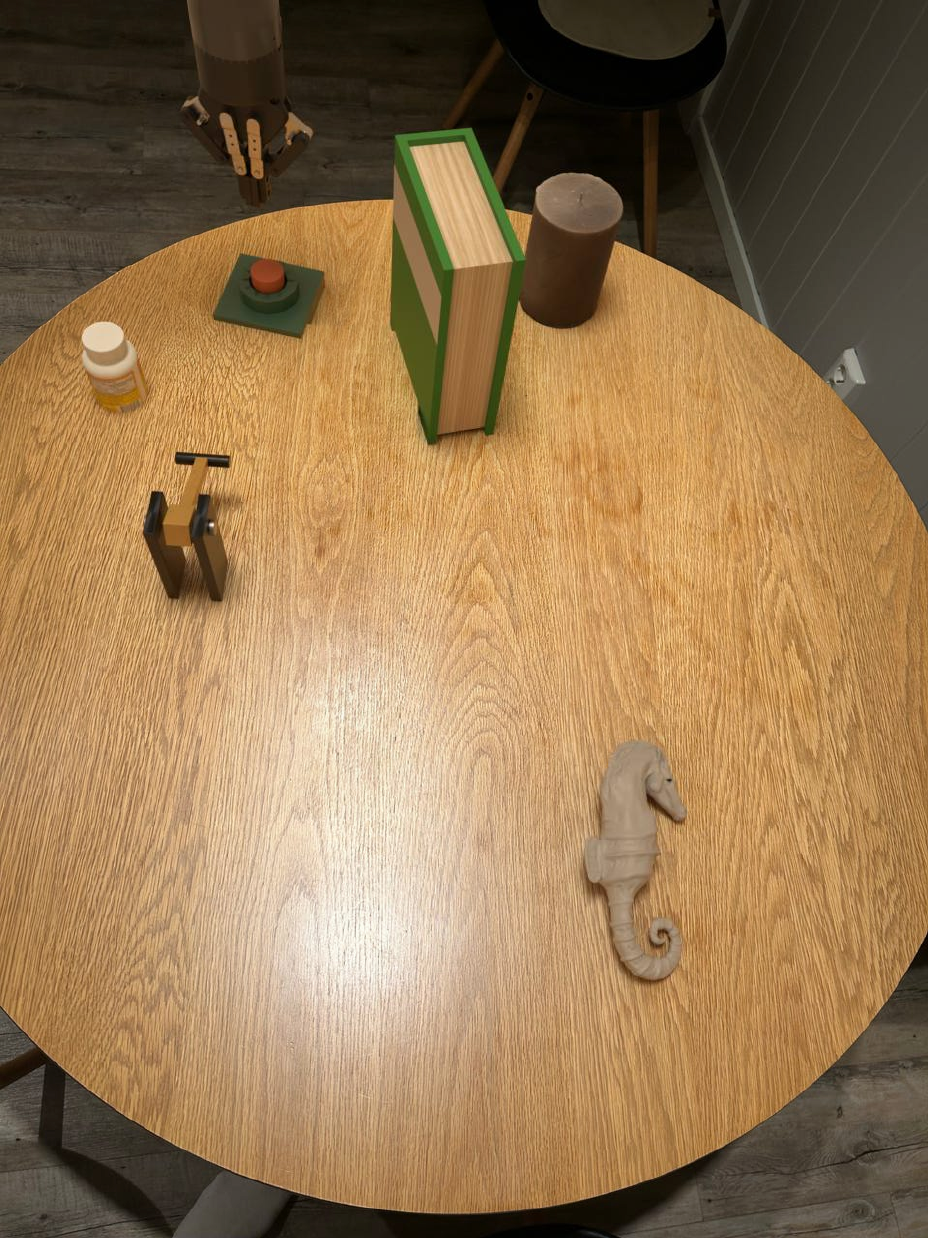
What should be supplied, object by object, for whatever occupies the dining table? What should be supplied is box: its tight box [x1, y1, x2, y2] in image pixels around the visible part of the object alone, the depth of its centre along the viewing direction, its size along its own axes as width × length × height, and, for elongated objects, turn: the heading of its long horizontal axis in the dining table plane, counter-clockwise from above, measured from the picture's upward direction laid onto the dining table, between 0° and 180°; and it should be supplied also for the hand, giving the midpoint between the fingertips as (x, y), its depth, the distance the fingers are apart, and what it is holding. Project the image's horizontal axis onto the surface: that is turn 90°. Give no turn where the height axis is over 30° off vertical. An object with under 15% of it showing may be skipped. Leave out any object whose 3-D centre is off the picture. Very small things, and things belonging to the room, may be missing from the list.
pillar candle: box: [519, 172, 624, 329], centre depth 106 cm, size 10×10×15 cm
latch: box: [163, 451, 232, 548], centre depth 84 cm, size 12×5×2 cm, turn 179°
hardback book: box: [389, 127, 526, 446], centre depth 95 cm, size 18×7×24 cm, turn 16°
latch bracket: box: [142, 490, 229, 602], centre depth 85 cm, size 10×8×13 cm
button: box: [251, 258, 285, 294], centre depth 104 cm, size 4×4×2 cm
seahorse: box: [583, 739, 688, 981], centre depth 81 cm, size 5×12×20 cm
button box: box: [212, 252, 326, 339], centre depth 106 cm, size 10×10×4 cm
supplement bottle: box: [81, 321, 149, 414], centre depth 96 cm, size 5×5×10 cm
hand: (256, 201), depth 95 cm, fingers closed
